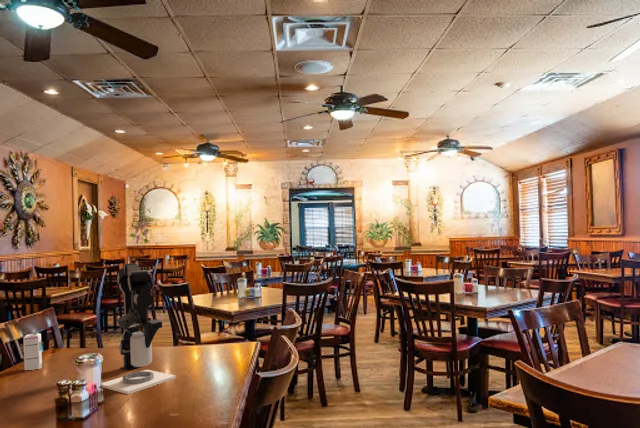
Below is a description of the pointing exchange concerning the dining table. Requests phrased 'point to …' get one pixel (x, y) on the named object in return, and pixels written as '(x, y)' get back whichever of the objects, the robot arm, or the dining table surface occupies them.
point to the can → (140, 350)
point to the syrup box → (32, 351)
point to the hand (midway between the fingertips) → (141, 346)
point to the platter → (137, 381)
